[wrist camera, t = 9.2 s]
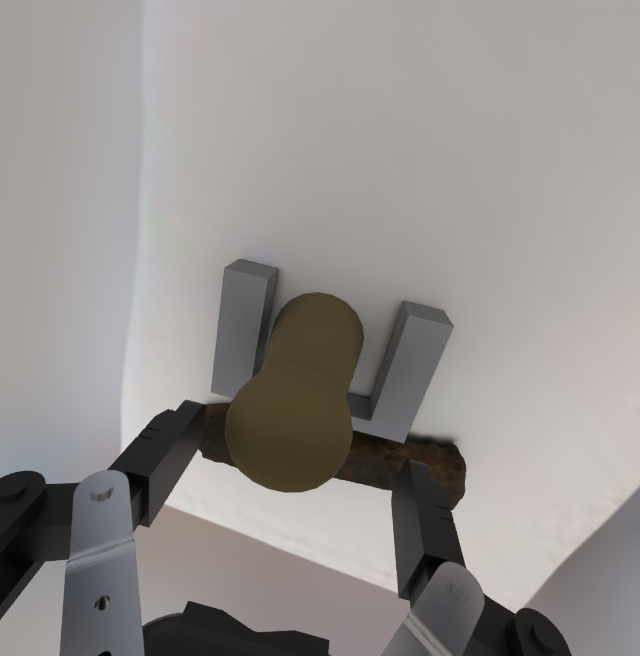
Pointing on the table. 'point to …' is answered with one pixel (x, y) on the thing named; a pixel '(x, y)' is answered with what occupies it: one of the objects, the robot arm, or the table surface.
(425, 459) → the dark brown long rod
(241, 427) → the olive flared cylinder
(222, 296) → the u-shaped block
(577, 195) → the table surface
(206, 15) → the table surface
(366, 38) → the table surface
